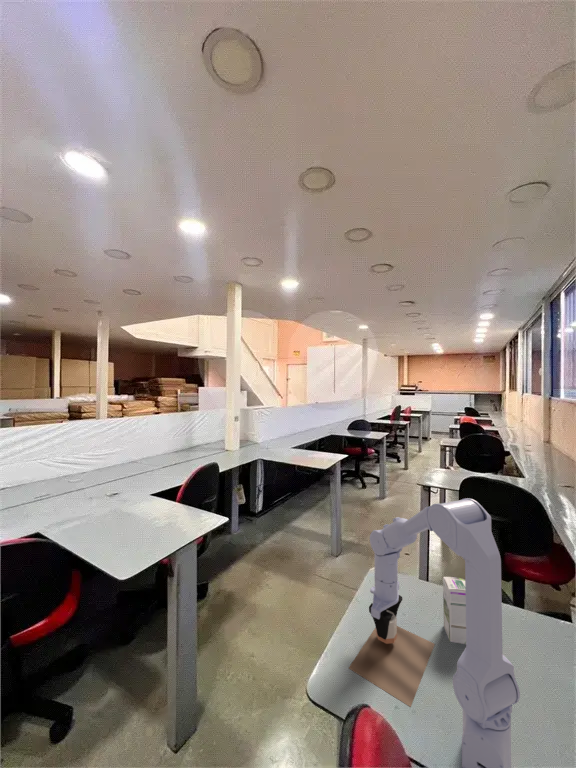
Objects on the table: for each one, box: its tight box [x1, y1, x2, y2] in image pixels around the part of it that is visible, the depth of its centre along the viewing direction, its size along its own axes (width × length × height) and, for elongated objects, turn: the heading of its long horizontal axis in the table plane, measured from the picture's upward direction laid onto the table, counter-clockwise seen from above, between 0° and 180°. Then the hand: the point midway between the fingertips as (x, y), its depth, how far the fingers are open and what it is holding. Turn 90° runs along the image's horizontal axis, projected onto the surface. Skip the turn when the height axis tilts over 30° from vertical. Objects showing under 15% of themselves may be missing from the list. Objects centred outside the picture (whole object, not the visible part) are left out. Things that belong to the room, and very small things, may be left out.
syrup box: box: [442, 576, 466, 645], centre depth 81 cm, size 6×6×14 cm
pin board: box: [348, 625, 436, 708], centre depth 75 cm, size 20×14×5 cm
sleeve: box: [376, 609, 398, 644], centre depth 79 cm, size 5×5×5 cm
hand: (386, 630), depth 79 cm, fingers closed on sleeve, 5 cm apart
